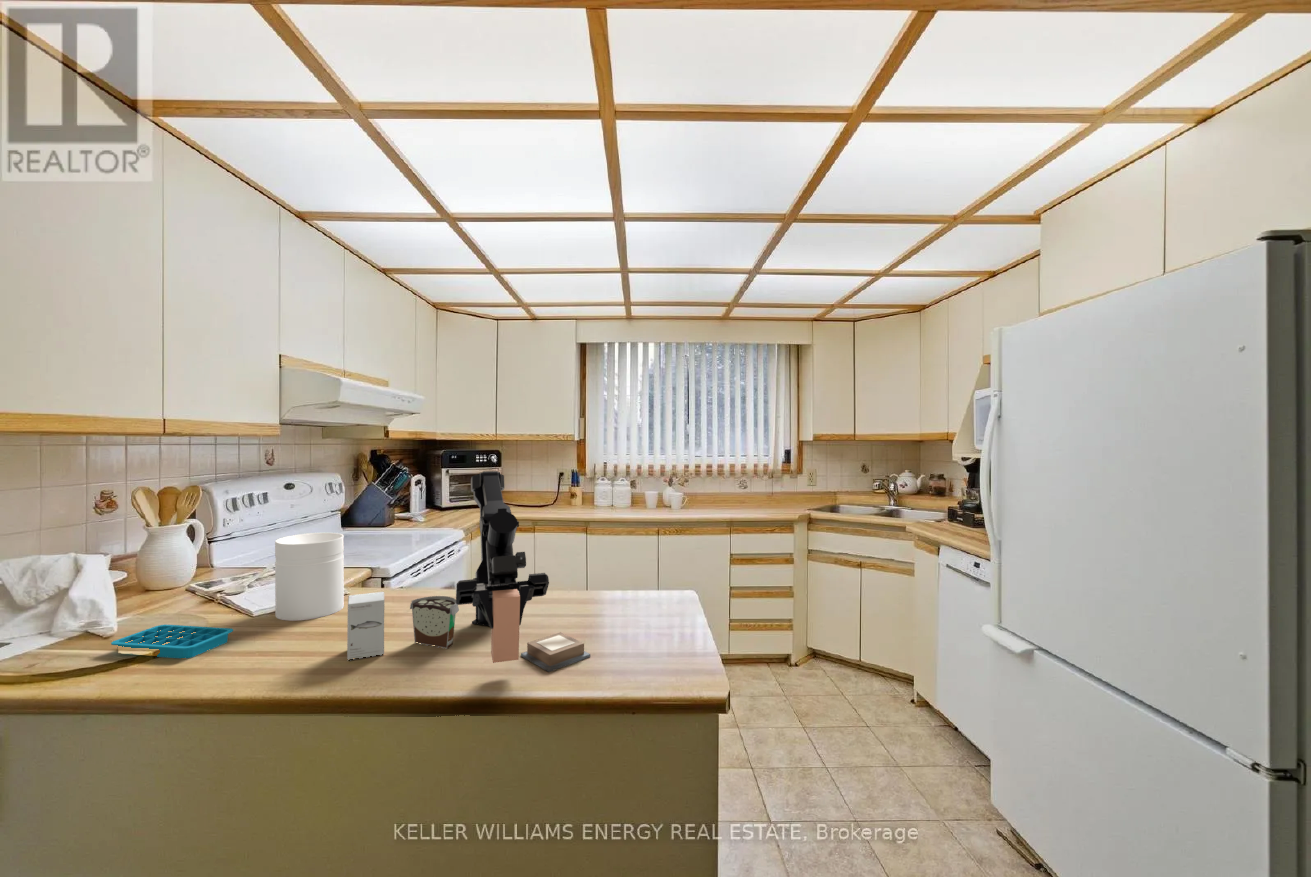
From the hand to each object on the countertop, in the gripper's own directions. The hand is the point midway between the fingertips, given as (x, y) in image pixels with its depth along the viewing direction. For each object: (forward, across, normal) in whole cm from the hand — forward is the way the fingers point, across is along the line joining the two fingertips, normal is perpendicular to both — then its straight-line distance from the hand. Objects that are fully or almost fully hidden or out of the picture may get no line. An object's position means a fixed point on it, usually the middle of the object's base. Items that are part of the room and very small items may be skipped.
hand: (506, 626), depth 110 cm
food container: (-10, -12, +26) cm, 30 cm away
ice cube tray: (-22, -69, +38) cm, 82 cm away
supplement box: (-9, -28, +25) cm, 39 cm away
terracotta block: (+4, 0, +6) cm, 7 cm away
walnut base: (+3, +12, +13) cm, 17 cm away
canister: (-35, -45, +51) cm, 77 cm away
